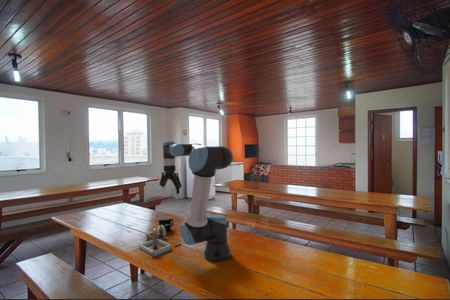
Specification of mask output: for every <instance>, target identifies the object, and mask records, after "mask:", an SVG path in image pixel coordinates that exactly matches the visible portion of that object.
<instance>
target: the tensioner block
mask: <svg viewBox="0 0 450 300" xmlns="http://www.w3.org/2000/svg"><path fill="white" fill-rule="evenodd" d="M157 235H158V239H159V240H164V239H167V236H166V235H167V232H166V229H165V227H164V226H163V225H159V224H158V226H157ZM145 237H146V239H145V241H146V242H149V241H152V240H153V239H152V232H150V233H148V234H147V233H146V236H145Z"/></svg>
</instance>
